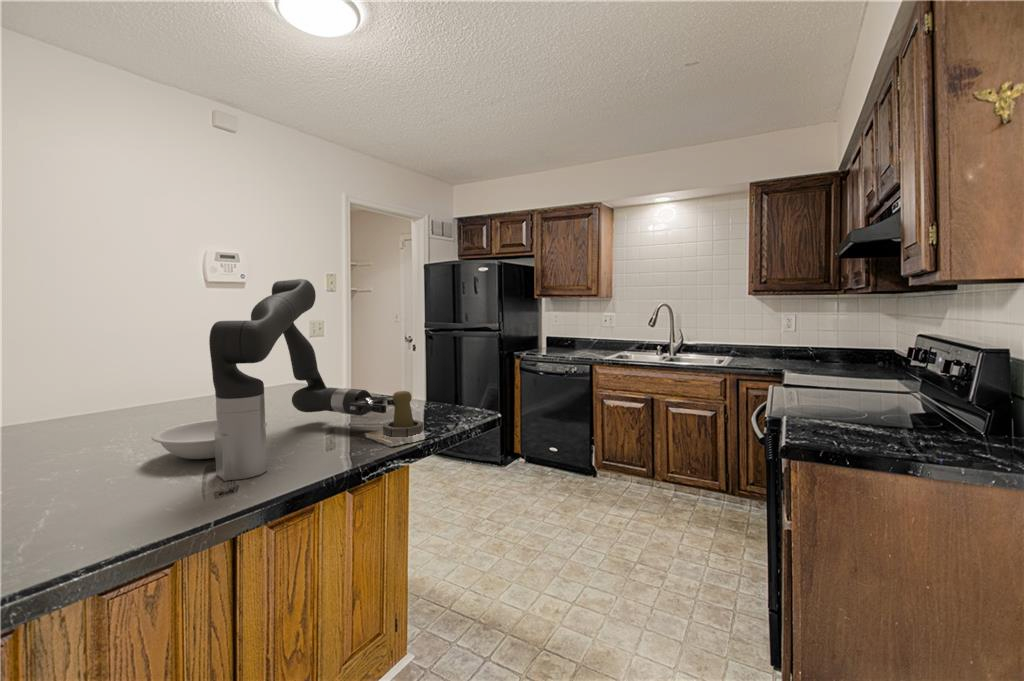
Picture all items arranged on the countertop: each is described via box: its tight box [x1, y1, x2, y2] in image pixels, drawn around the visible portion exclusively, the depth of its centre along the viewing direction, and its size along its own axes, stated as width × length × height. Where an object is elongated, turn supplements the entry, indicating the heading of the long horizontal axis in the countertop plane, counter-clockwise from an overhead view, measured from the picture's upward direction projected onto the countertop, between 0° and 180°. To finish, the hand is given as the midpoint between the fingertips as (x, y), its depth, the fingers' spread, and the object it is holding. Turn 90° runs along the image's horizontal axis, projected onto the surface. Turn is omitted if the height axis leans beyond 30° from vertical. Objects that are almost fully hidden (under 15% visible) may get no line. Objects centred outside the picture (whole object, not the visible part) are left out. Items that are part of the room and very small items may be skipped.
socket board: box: [364, 419, 424, 443], centre depth 137 cm, size 16×14×4 cm
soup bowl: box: [151, 418, 268, 460], centre depth 121 cm, size 24×24×7 cm
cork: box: [392, 390, 414, 428], centre depth 138 cm, size 6×6×11 cm
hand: (395, 406), depth 138 cm, fingers open, 8 cm apart
